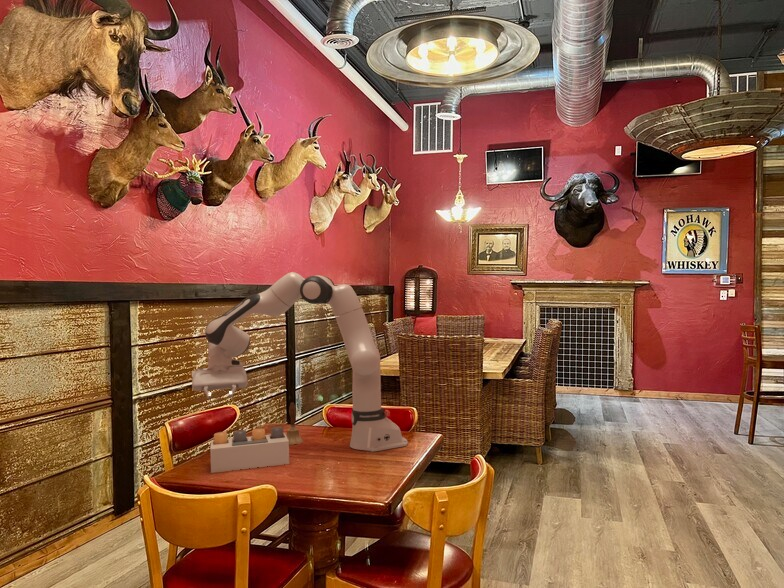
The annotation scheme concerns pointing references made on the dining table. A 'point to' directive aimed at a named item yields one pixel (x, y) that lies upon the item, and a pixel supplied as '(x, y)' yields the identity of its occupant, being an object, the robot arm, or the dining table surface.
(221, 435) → the orange key
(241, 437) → the charcoal key middle
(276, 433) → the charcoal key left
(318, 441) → the dining table surface
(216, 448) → the keypad
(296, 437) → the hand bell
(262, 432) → the orange key
